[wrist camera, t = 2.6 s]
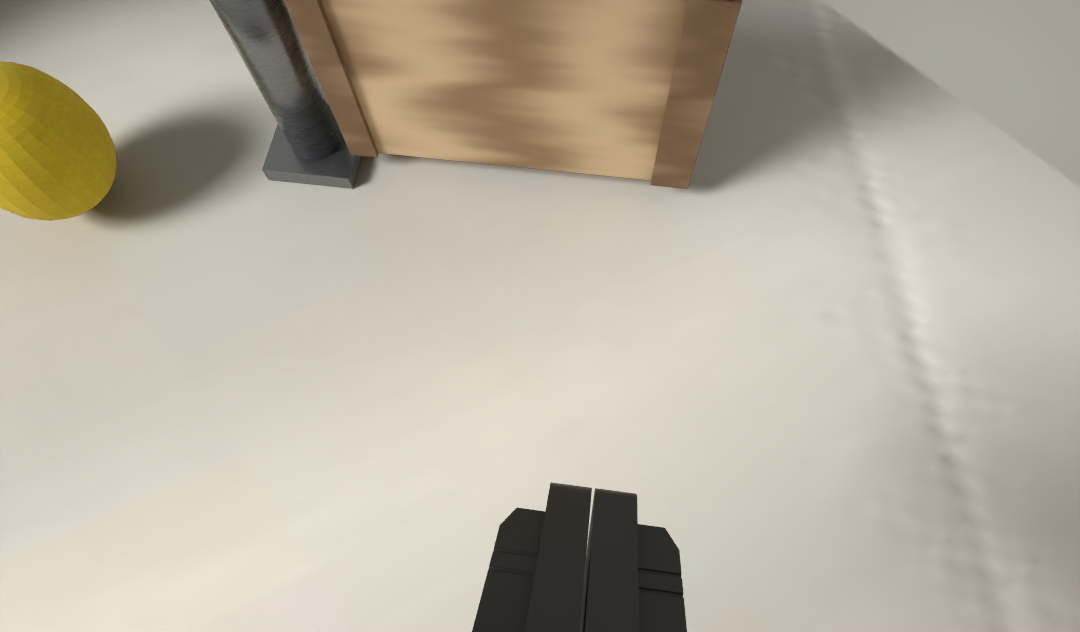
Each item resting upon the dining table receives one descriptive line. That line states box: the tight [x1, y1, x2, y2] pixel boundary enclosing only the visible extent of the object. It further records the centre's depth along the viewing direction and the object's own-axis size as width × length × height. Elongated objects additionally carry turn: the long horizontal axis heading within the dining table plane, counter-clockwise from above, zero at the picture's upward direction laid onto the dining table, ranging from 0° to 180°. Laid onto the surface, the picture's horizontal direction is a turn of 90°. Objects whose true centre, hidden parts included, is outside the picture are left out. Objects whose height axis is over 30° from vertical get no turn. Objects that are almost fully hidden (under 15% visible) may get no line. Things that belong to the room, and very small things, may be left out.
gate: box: [284, 0, 742, 189], centre depth 27 cm, size 15×2×11 cm, turn 82°
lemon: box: [0, 62, 117, 220], centre depth 30 cm, size 6×6×8 cm
